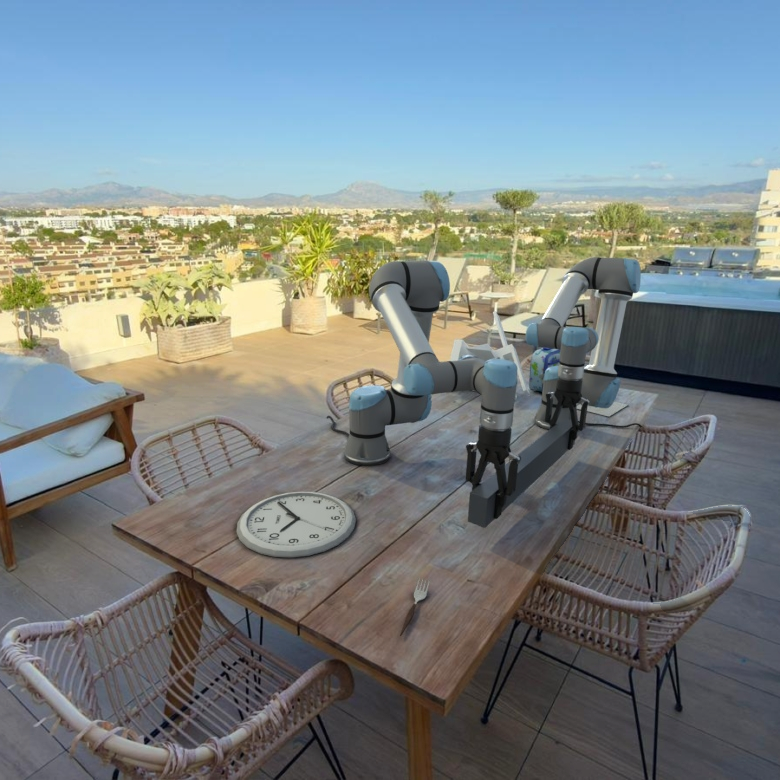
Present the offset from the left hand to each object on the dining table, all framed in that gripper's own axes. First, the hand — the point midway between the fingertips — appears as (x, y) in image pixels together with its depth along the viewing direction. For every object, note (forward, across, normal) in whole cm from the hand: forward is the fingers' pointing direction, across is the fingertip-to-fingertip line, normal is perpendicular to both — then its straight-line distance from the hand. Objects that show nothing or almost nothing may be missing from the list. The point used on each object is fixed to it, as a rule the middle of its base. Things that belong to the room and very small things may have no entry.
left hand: (487, 512), depth 130 cm
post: (+1, 0, +26) cm, 26 cm away
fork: (+5, +2, -34) cm, 35 cm away
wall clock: (+6, -40, -26) cm, 48 cm away
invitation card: (+8, -5, +120) cm, 120 cm away
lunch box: (+8, -32, +130) cm, 135 cm away
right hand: (0, 0, +52) cm, 52 cm away
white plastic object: (+8, -56, +104) cm, 119 cm away
